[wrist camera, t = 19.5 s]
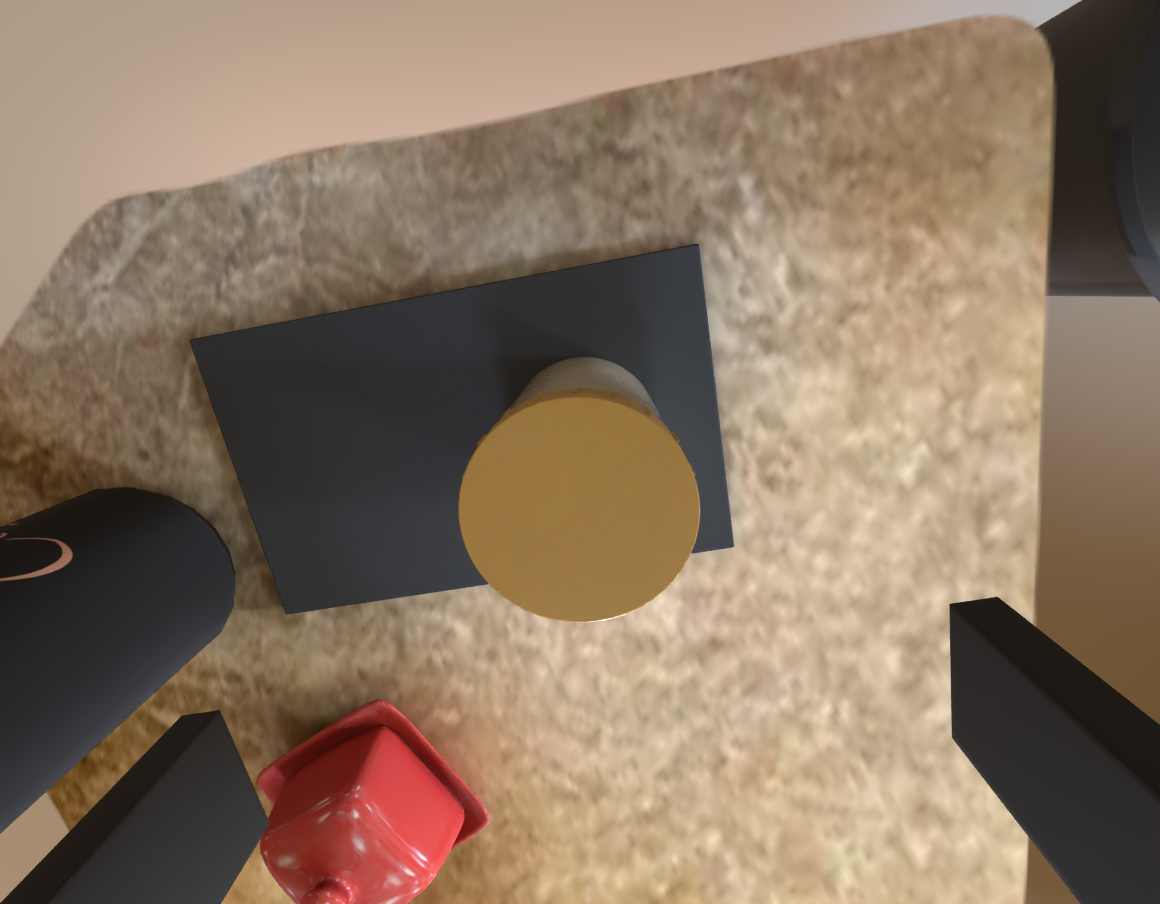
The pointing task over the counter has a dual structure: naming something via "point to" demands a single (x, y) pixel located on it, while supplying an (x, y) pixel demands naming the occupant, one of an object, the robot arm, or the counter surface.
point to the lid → (579, 505)
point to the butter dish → (364, 812)
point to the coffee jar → (97, 624)
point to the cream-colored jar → (587, 380)
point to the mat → (440, 414)
